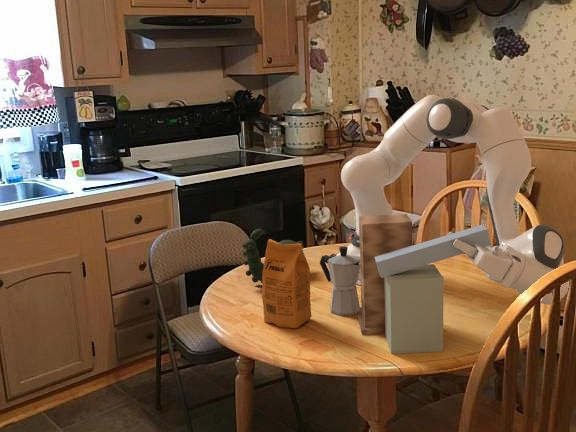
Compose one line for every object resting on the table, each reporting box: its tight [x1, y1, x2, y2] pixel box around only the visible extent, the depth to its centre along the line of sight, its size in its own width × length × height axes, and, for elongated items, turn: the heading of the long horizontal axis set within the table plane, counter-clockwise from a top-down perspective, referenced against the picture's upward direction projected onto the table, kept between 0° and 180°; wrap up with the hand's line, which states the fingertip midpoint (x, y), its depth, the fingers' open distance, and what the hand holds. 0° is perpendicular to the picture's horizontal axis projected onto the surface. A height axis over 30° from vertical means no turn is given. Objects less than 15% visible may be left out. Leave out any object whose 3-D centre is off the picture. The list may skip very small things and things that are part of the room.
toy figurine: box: [241, 228, 304, 284], centre depth 205 cm, size 10×19×26 cm
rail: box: [375, 224, 492, 278], centre depth 151 cm, size 26×4×4 cm, turn 89°
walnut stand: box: [356, 213, 413, 335], centre depth 165 cm, size 14×11×28 cm
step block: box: [384, 263, 444, 355], centre depth 155 cm, size 12×10×18 cm
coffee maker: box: [319, 245, 362, 317], centre depth 178 cm, size 15×9×18 cm, turn 44°
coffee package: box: [261, 238, 312, 329], centre depth 172 cm, size 10×12×22 cm
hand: (451, 238), depth 150 cm, fingers closed on rail, 4 cm apart
